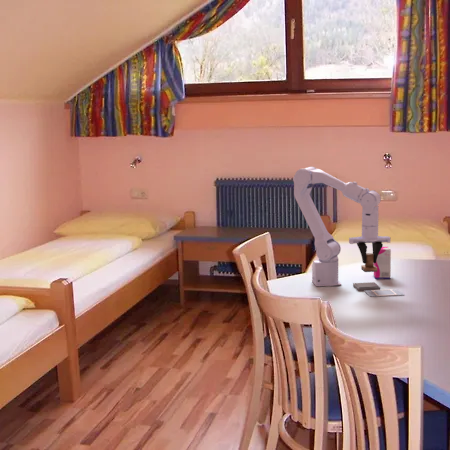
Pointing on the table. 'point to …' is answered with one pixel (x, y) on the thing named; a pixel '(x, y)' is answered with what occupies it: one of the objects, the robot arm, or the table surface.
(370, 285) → the pad
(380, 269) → the supplement box
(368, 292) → the print card
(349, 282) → the table surface
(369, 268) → the stamp
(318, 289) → the table surface
